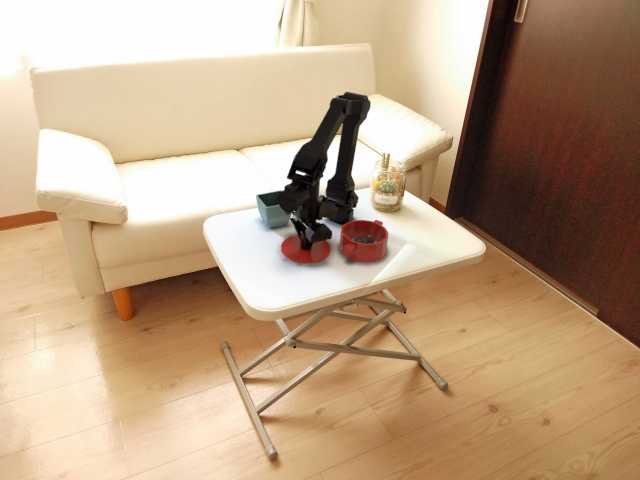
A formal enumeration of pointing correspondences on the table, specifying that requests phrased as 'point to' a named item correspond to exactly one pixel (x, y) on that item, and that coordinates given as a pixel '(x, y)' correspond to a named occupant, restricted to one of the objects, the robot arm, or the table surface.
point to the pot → (362, 250)
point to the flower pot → (271, 209)
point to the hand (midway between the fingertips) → (305, 246)
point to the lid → (304, 250)
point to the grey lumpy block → (365, 240)
